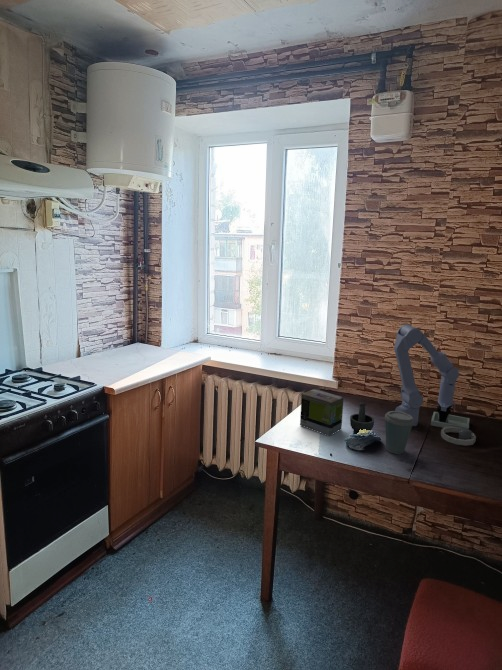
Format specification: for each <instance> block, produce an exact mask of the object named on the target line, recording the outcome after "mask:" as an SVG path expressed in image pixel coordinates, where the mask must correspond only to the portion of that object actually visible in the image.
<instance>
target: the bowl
mask: <svg viewBox="0 0 502 670" xmlns="http://www.w3.org/2000/svg"><path fill="white" fill-rule="evenodd" d="M460 429H462V428H458V427H445V428H441V430H440V436H441V438H442V440H445V441H446V442H448V443H451V444H454V445H458V446H465V447H466V446H473V445H474V444H475V442H476V439H477V436H476V434H475V433H474V432H472V436H471V439H469V440H462V439H459V438H455V437H452V436H449V435H448V433H456V434H457V433H458V434H459V433H460ZM446 433H447V434H446Z"/></svg>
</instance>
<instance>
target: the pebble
mask: <svg viewBox="0 0 502 670" xmlns="http://www.w3.org/2000/svg"><path fill="white" fill-rule="evenodd" d="M472 433H473V431H472V430H471V429H464V428H462V429H460V433H458V439H462V440H469V439H472V438H471V436H472Z"/></svg>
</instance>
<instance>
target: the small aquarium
mask: <svg viewBox="0 0 502 670" xmlns="http://www.w3.org/2000/svg"><path fill="white" fill-rule="evenodd" d="M300 398H301V399H300V400H301V401H300V421H299V422H300V423H299V426H300V425H302V426H301V427H303V426H305V427H308V428H310V429H309V430H311V429H313V430H312V431H314V430H315V431H314V432H317V431H318V432H317V433H319V432H321V433H320V434H322V433H323V434H322V435H325V434H326V435H325V436H327V435H328V437H331V436H333V435H334V434H336V433H337V431H338V430H339V431H341V430H342V423H343V412H344V411H343V409H344V396H341V395H337V394H333V393H330V392H327V391H324V390H320V389H317V388H313V389H311V390H308V391H306V392H304V393H301V397H300ZM305 427H304V428H305ZM308 428H307V429H308ZM340 429H341V430H340ZM339 431H338V432H339ZM335 432H336V433H335ZM333 433H334V434H333ZM332 434H333V435H332ZM330 435H331V436H330Z"/></svg>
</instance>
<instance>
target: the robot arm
mask: <svg viewBox="0 0 502 670" xmlns="http://www.w3.org/2000/svg"><path fill="white" fill-rule="evenodd" d="M416 344H419V345H420V346H421V347H422V348H423V349H424V350H425V351H426V352H427V353H428V354H429V355H430V361H431V363H432V364H433V365H434V366H435V367H436V369H438V372H439V374H441V377H440V384H439V392H438V399H437V403H438V406H436V410H437V411H436V412H438V413H439V422H444V423H445V422H446V419H447V417H448V415H450V413H451V412H452V409H451V408H452V407H453V406H456V402H455V401H454V394H455V389H456V388H455V386H456V382H457V379H458V378H459V376H460V371H459V369H458V368H457V367H456V366H453V364H454V363H453V362H452V361H450V360H449V358H448V357H447V355H448V354H447V353H445V352H443V351H438V350H437V349H436V347H435V346H434V345H433V343H432V342H431V341H430V340H429V338H428V337H427V336H426V334H425V333H423V332H422V330H421V329H419V328H418V327H417V328H416V327H414V326H412V325H411V324H408V323H406V324H402V325H401V326H400V327H399V328H398V330H397V331H396V339H395V342H394V346H393V351H394V354H395V358H396V362H397V363H396V364H397V367H398V368H397V369H398V371H399V376H400V380H401V386H400V389H401V391H400V398H401V399H402V402H401V404H400V405H399V406H396V408H395V410H394V411H399V412H404V413H407V414H409V415H411V416H412V417H413V419H414V424H413V425H412V427H416V426H418V423H419V415H420V414H419V413H420V408H421V406H422V405H423V404H424V398H423V396H422V395H421V394H420V391H419V389H418V386H417V385H416V380H415V377H414V376H415V375H414V373H413V367H412V363H411V359H410V354H409V351H410V349H411V348H413V347H414V346H415V345H416Z"/></svg>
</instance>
